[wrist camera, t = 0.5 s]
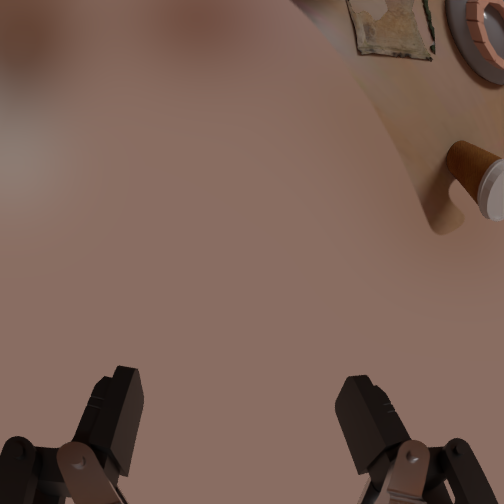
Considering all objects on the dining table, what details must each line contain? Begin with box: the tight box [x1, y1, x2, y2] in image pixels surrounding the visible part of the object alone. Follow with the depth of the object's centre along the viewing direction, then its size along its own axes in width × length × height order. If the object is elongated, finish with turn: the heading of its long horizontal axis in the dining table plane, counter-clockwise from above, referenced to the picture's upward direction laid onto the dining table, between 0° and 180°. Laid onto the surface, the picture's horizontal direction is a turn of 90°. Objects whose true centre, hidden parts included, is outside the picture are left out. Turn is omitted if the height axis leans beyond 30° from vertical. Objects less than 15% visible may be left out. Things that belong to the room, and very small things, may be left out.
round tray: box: [445, 0, 504, 85], centre depth 16 cm, size 19×19×4 cm
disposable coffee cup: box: [447, 141, 504, 221], centre depth 28 cm, size 10×10×12 cm
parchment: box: [346, 0, 435, 62], centre depth 21 cm, size 12×13×1 cm
